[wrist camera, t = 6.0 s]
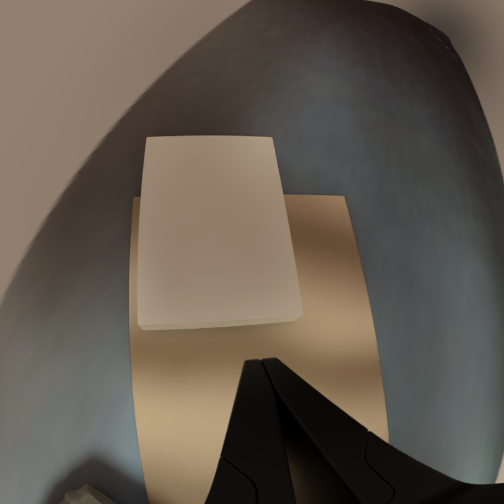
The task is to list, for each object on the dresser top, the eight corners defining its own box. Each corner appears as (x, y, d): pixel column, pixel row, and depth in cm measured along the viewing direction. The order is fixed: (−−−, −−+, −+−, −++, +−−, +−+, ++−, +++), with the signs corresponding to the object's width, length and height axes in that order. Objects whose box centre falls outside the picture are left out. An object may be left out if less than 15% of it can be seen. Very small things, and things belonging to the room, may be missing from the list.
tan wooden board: (387, 497, 12) (391, 499, 12) (159, 540, 10) (158, 543, 9) (341, 199, 19) (343, 195, 19) (134, 200, 17) (133, 197, 16)
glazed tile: (303, 314, 14) (272, 137, 17) (137, 324, 12) (146, 137, 16) (292, 322, 15) (266, 155, 19) (144, 331, 14) (149, 156, 17)
